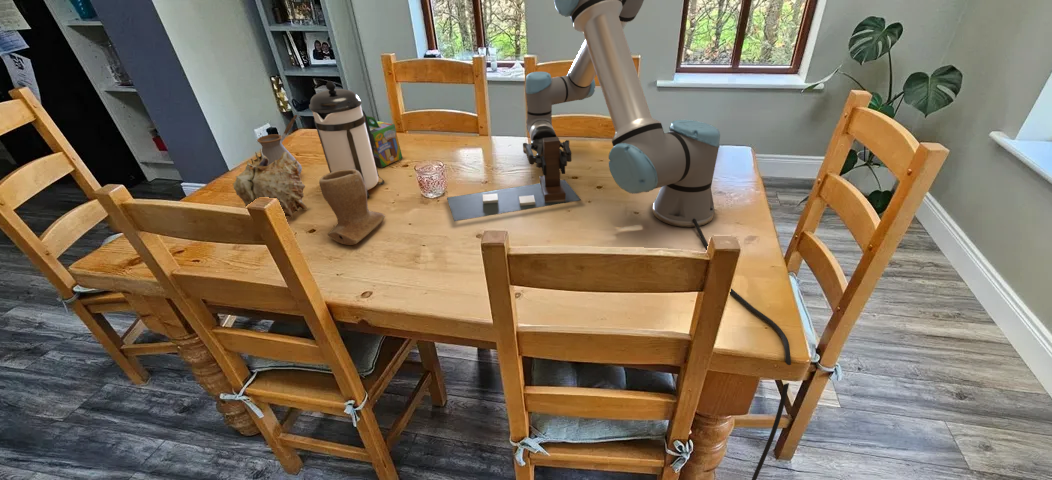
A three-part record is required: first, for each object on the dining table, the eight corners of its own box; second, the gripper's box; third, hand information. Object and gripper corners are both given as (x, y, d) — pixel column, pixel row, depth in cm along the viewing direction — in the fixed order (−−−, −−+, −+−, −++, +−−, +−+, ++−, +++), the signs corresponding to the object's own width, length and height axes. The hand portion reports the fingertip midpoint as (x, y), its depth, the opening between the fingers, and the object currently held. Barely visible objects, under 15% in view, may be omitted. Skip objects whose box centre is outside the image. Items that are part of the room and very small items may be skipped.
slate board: (581, 205, 130) (581, 200, 129) (454, 226, 122) (454, 221, 121) (564, 184, 141) (564, 179, 140) (447, 202, 133) (446, 197, 132)
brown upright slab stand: (565, 201, 129) (565, 146, 120) (544, 203, 128) (543, 148, 120) (558, 182, 139) (558, 130, 130) (539, 184, 138) (537, 132, 129)
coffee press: (395, 192, 139) (370, 82, 121) (337, 206, 132) (302, 92, 115) (379, 171, 151) (355, 69, 134) (325, 183, 145) (292, 78, 127)
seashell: (297, 136, 125) (249, 142, 128) (253, 166, 111) (200, 173, 114) (328, 197, 135) (283, 201, 139) (292, 232, 121) (243, 236, 125)
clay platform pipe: (352, 214, 129) (336, 160, 120) (392, 219, 126) (379, 164, 117) (315, 243, 117) (295, 186, 108) (358, 250, 114) (341, 191, 105)
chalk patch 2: (535, 204, 128) (535, 201, 127) (520, 205, 127) (519, 203, 127) (533, 197, 131) (533, 195, 131) (518, 199, 131) (518, 196, 130)
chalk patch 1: (498, 202, 129) (497, 199, 129) (483, 203, 129) (482, 201, 128) (497, 195, 132) (497, 193, 132) (482, 197, 132) (482, 194, 132)
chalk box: (403, 158, 159) (393, 113, 151) (381, 168, 153) (370, 121, 144) (383, 153, 163) (373, 109, 155) (362, 163, 157) (350, 117, 148)
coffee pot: (291, 188, 143) (272, 138, 134) (255, 186, 144) (235, 136, 135) (328, 160, 160) (314, 114, 151) (296, 158, 161) (280, 113, 152)
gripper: (572, 148, 146) (586, 180, 127) (515, 152, 144) (521, 185, 125) (572, 123, 141) (587, 153, 122) (513, 127, 140) (520, 157, 121)
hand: (554, 169), depth 124 cm, fingers closed on brown upright slab stand, 4 cm apart
